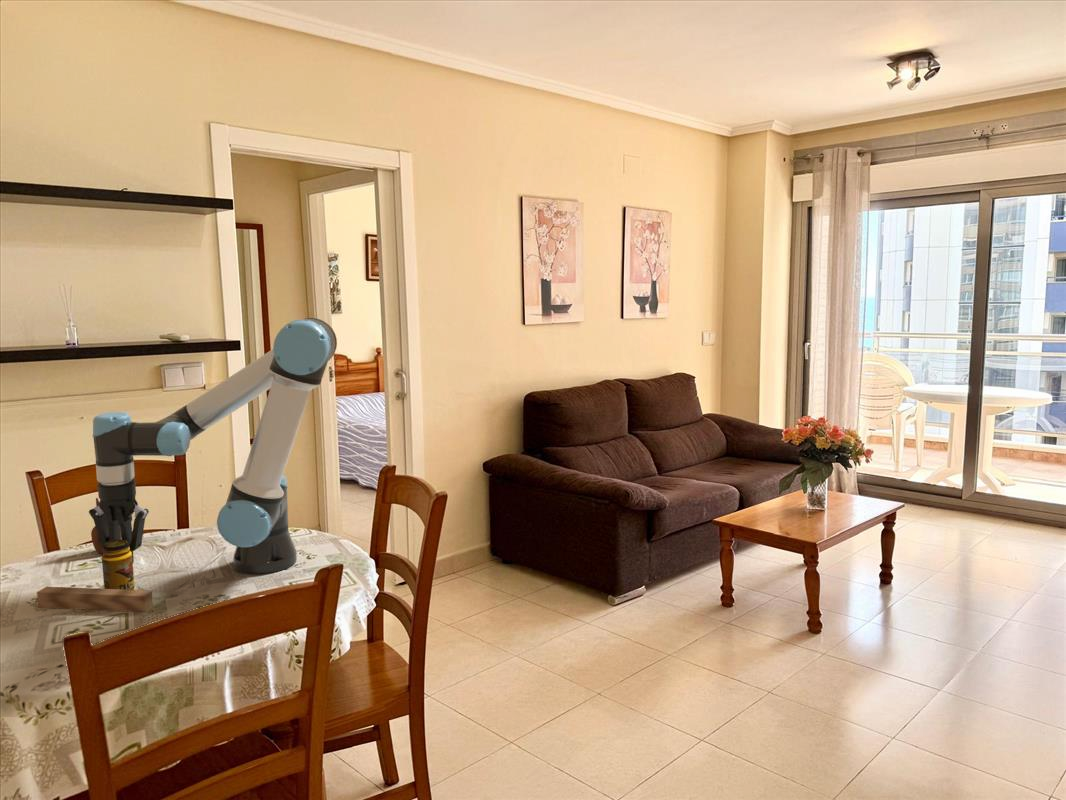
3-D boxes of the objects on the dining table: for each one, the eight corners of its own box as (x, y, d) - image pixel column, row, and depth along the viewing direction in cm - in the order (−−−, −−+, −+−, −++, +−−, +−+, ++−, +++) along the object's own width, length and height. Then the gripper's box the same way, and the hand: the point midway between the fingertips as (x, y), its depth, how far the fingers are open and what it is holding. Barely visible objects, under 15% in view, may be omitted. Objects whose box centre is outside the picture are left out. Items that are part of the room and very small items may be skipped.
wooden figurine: (95, 557, 192) (91, 501, 190) (90, 551, 197) (86, 496, 194) (124, 551, 197) (120, 496, 195) (119, 545, 201) (115, 491, 199)
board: (153, 605, 165) (152, 590, 164) (145, 611, 162) (144, 596, 161) (47, 601, 166) (46, 586, 165) (38, 607, 163) (36, 592, 162)
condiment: (138, 595, 170) (134, 544, 168) (95, 603, 165) (90, 552, 163) (134, 583, 176) (130, 535, 174) (93, 591, 171) (88, 541, 169)
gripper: (154, 477, 174) (161, 572, 178) (97, 474, 175) (106, 569, 179) (135, 486, 166) (143, 585, 171) (76, 484, 167) (85, 582, 172)
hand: (124, 577), depth 175 cm, fingers closed
